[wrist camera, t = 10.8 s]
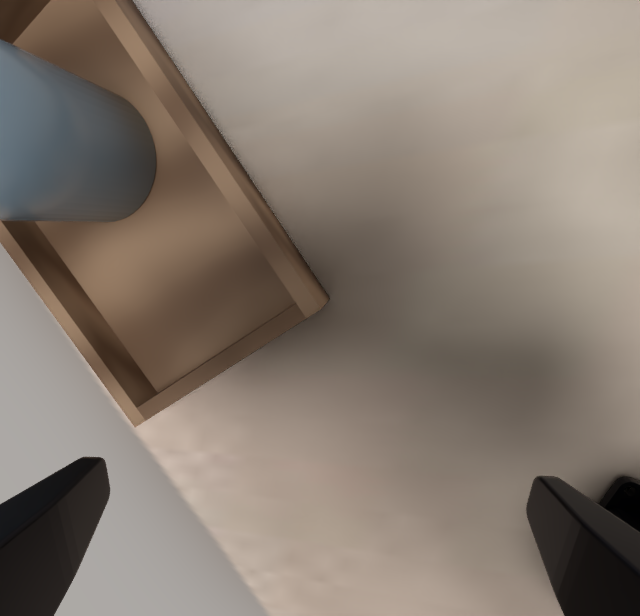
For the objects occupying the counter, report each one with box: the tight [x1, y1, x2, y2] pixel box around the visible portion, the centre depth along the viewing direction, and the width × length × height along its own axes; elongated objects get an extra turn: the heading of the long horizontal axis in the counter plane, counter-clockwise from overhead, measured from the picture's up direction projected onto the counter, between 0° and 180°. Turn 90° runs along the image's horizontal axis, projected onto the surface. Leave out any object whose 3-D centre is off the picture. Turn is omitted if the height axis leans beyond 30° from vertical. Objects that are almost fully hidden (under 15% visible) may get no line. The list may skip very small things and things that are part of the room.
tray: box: [0, 0, 330, 427], centre depth 20 cm, size 20×12×2 cm, turn 34°
